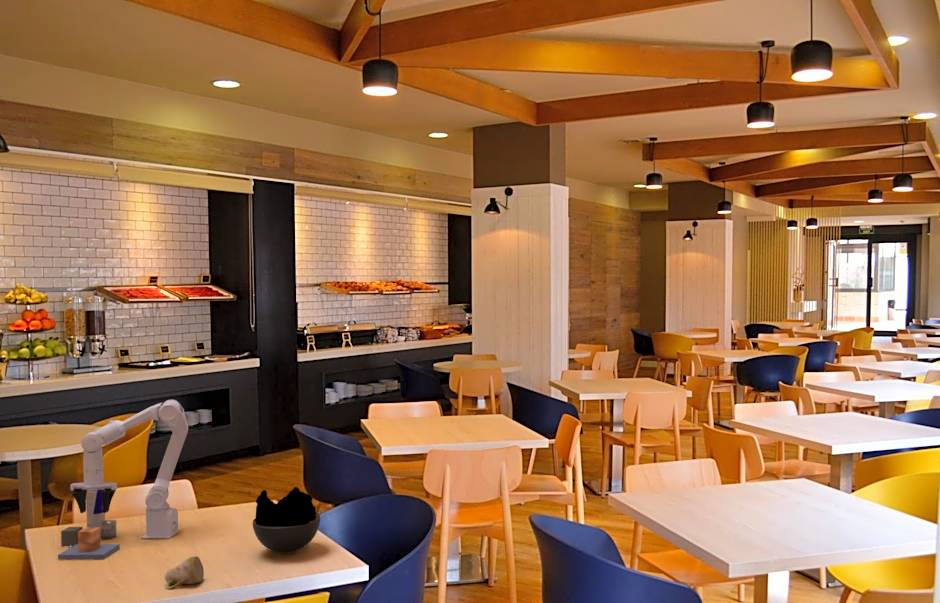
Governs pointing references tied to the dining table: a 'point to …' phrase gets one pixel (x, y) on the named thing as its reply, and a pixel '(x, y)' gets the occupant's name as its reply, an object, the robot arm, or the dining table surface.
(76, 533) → the black rubber block
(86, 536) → the terracotta block
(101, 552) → the blue-grey rectangular slab
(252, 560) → the dining table surface
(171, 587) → the beige lumpy soft piece
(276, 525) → the bowl of black rocks
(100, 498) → the grey blue tall box
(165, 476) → the robot arm
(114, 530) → the grey cube
